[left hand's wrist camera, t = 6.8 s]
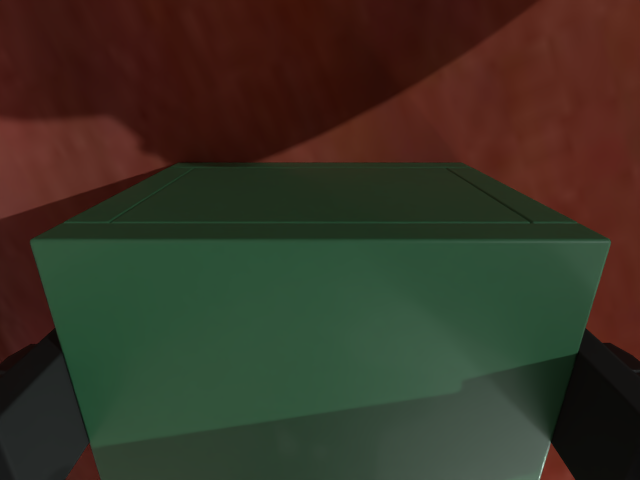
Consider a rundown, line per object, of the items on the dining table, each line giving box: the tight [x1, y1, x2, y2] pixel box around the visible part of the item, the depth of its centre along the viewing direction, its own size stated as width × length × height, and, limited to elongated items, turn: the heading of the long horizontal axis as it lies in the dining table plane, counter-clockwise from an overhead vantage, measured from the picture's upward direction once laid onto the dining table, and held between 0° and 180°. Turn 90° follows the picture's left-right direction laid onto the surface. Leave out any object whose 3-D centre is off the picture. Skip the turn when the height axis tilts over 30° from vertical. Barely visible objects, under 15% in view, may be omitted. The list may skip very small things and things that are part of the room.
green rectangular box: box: [30, 163, 611, 480], centre depth 15 cm, size 20×11×8 cm, turn 0°
